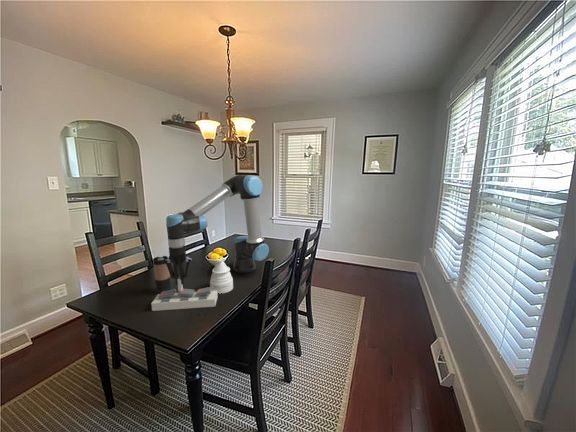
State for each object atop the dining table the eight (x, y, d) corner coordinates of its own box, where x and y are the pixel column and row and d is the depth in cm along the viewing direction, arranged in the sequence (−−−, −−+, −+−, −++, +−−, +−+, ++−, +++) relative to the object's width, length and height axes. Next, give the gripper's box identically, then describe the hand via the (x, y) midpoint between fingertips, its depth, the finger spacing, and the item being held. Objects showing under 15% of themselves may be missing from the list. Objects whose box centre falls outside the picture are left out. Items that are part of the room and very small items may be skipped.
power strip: (217, 297, 134) (217, 290, 134) (215, 306, 126) (214, 298, 125) (159, 301, 131) (158, 294, 130) (152, 311, 122) (151, 303, 121)
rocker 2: (211, 289, 132) (211, 286, 132) (210, 293, 127) (209, 290, 127) (198, 292, 131) (197, 289, 131) (196, 296, 127) (195, 294, 126)
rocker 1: (176, 291, 130) (175, 288, 129) (173, 296, 125) (172, 293, 125) (162, 294, 129) (161, 291, 129) (159, 299, 124) (158, 296, 124)
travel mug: (163, 296, 136) (160, 261, 132) (153, 293, 138) (149, 259, 134) (174, 289, 143) (171, 256, 139) (164, 287, 145) (160, 255, 142)
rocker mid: (194, 292, 131) (194, 289, 131) (192, 297, 126) (192, 294, 126) (180, 291, 130) (180, 288, 130) (177, 295, 125) (177, 292, 125)
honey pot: (232, 292, 140) (231, 262, 136) (208, 294, 138) (206, 263, 134) (233, 282, 152) (232, 254, 149) (212, 283, 150) (210, 255, 146)
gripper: (192, 243, 127) (195, 285, 132) (165, 244, 126) (169, 287, 130) (188, 247, 120) (192, 292, 124) (160, 248, 118) (164, 294, 123)
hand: (180, 290), depth 127 cm, fingers closed
